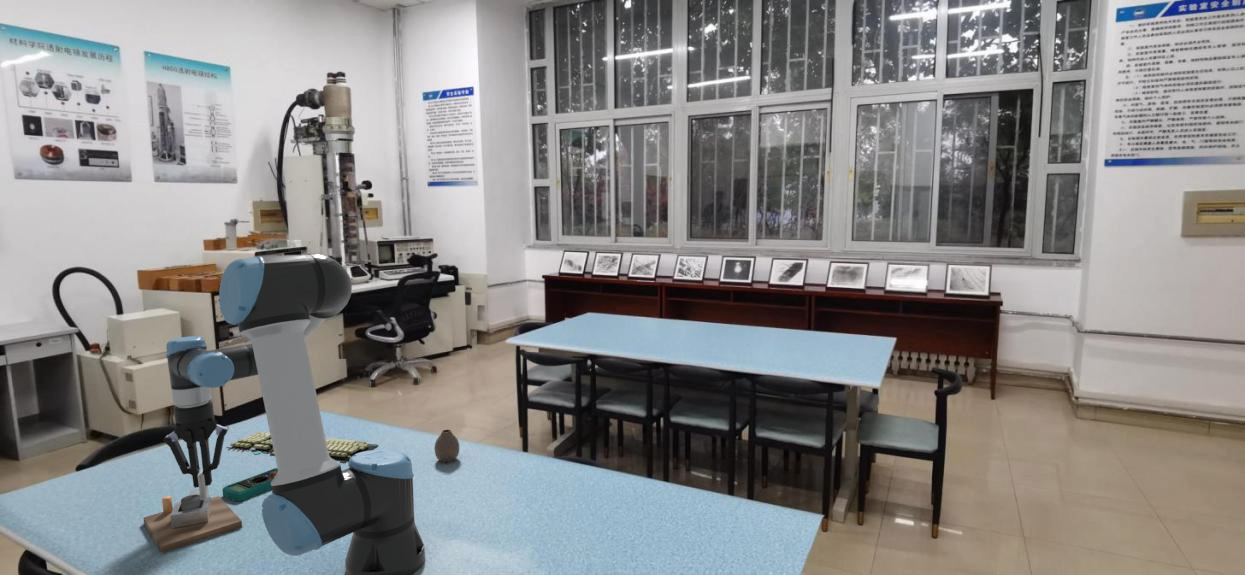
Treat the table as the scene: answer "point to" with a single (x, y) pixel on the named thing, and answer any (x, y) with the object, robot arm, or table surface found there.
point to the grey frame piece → (191, 512)
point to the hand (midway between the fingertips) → (204, 498)
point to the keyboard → (335, 446)
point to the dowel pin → (167, 504)
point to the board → (177, 537)
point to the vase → (446, 446)
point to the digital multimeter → (250, 486)
